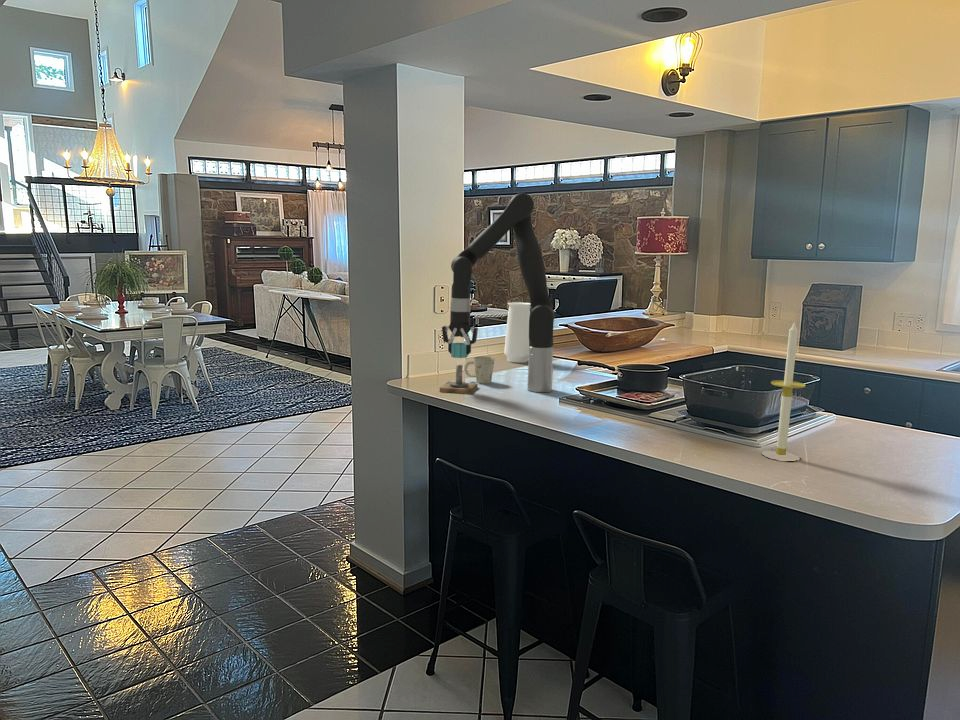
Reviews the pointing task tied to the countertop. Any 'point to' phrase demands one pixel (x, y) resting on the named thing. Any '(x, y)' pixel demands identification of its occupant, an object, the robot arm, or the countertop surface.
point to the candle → (787, 391)
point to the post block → (458, 384)
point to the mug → (482, 369)
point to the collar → (459, 350)
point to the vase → (517, 332)
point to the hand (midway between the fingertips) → (459, 353)
